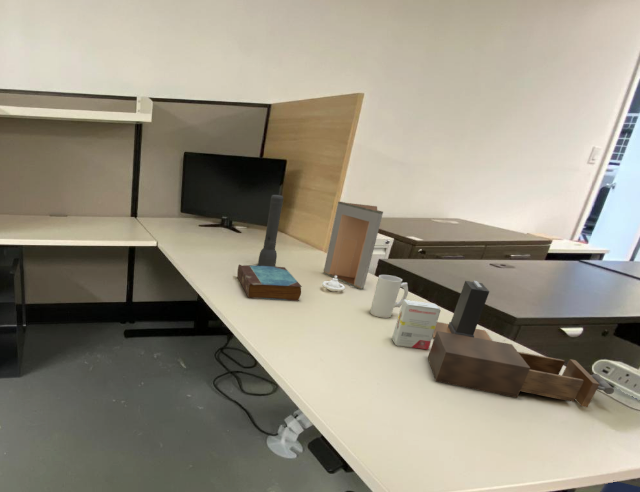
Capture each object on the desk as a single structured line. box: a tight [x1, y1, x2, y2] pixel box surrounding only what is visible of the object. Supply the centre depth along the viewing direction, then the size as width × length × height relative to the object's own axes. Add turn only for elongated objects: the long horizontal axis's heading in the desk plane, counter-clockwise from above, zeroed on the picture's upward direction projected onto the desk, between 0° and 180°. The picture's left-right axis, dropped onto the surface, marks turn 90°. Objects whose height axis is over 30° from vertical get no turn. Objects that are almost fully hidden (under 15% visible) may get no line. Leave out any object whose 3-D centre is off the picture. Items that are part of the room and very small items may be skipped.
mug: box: [369, 274, 409, 319], centre depth 145 cm, size 10×7×12 cm, turn 89°
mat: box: [432, 321, 493, 341], centre depth 136 cm, size 16×14×1 cm
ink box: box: [391, 299, 442, 350], centre depth 125 cm, size 9×5×12 cm, turn 78°
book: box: [236, 264, 303, 302], centre depth 162 cm, size 23×18×5 cm
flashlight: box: [257, 194, 284, 267], centre depth 185 cm, size 7×28×7 cm
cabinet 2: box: [427, 331, 530, 399], centre depth 110 cm, size 17×14×8 cm
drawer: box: [517, 351, 615, 408], centre depth 106 cm, size 20×12×6 cm, turn 71°
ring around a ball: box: [321, 276, 346, 293], centre depth 166 cm, size 8×6×8 cm
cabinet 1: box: [322, 201, 384, 290], centre depth 175 cm, size 21×10×28 cm, turn 23°
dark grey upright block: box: [448, 280, 490, 337], centre depth 133 cm, size 5×9×15 cm, turn 161°
